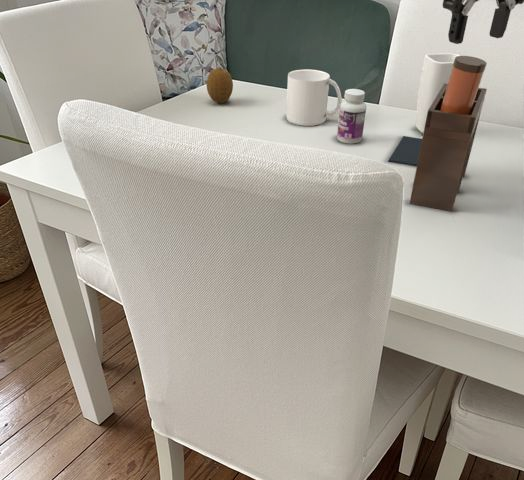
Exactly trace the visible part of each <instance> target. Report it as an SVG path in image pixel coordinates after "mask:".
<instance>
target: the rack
mask: <svg viewBox="0 0 524 480" xmlns="http://www.w3.org/2000/svg"><path fill="white" fill-rule="evenodd" d="M447 85H448V84H445V83H444V85H443V86H442V88H441V90H440V91H439V93H438V95H437V96H436V98H435V100H434V101H433V103H432V105H431V106H430V108H429V110H428V113H427V118H426V123H425V128H424V133H423V134H422V137H421V139H422V143H421V148H420V153H419V158H418V163H417V166H416V169H415V175H414V178H413V183H412V188H411V194H410V201H409V204H411V205H415V206H421V207H425V208H432V209H435V210H440V211H441V210H442V211H447V212H453V209H454V206H455V202H456V198H457V195H458V194H459V193H460V190H461V185H462V181H463V178H465V177H466V176H465V175H466V171H467V167H468V164H469V160H470V156H471V153H472V148H473V145H474V142H475V137H476V133H477V129H478V125H479V121H480V117H481V113H482V110H483V107H484V102H485V98H486V95H487V91H488V89H487V88H483V87H479V88H478V91H477V94H476V97H475V100H474V103H473V106H472V109H471V112H470V115H466V114H459V113H452V112H445V111H440V109H441V105H442V102H443V99H444V95H445V92H446V88H447Z"/></svg>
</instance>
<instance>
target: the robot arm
mask: <svg viewBox="0 0 524 480" xmlns="http://www.w3.org/2000/svg"><path fill="white" fill-rule="evenodd" d="M479 1H480V0H443V1H442V8H443V9H445V10H448V11H450V13H451V19H450V23H449V28H448V29H449V30H448V35H447V36H448V41H449V42H450V43H452V44H456V45H461V44H462V43H463V41H464V37H465V32H466V28H467V23H468V18H469V15H468V14H469V13H470V11H471V9H472V8H473V7H474V5H475V4H476V2H479ZM495 2H496V6H497V8H494V13H493V17H492V21H491V25H490V29H489V37H491V38H495V39H502V38H503V37H504V35H505V33H506V31H507V27H508V24H509V20H510V15H511V13H512V12H511V11H513V10H514V9H515V7H516V6H517V5H523V3H524V0H495Z"/></svg>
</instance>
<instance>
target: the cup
mask: <svg viewBox="0 0 524 480" xmlns="http://www.w3.org/2000/svg"><path fill="white" fill-rule="evenodd" d="M457 56H461V55H460V54H458V53H454V52H441V53H440V52H436V53H435V52H434V53H433V52H432V53H431V52H430V53H426V54H425V55H424V58H423V63H422V69H421V72H420V78H419V79H420V80H419V86H418V94H417V102H416V114H415V127H416V129H417V130H418V131H419V132H420V133H421V134H422V135H423V133H424V128H425V123H426V118H427V113H428V110H429V108H430V106H431V105H432V103H433V101H434V100H435V98H436V96H437V95H438V93H439V91H440V90H441V88H442V86H443V85H444V83H445V84H448V82H449V78H450V75H451V71H452V68H453V63H454V60H455V57H457Z"/></svg>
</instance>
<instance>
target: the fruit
mask: <svg viewBox="0 0 524 480" xmlns="http://www.w3.org/2000/svg"><path fill="white" fill-rule="evenodd" d="M231 75H232V74H231V73H230V72H229V71H228V70H227V69H225V68H222V67H221V66H218V67H216V68H214V69H211V71H210V72H209V73H208V75H207V79H206V90H207V93H208V96H209V98H210V99H211V100H212V101H213V102H215V103H216V104H219V105H221V104H224V103H225V102H227V101H228V100H230V98H231V96H232V93H233V90H234V89H233V88H234V81H233V78H232V76H231Z"/></svg>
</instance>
